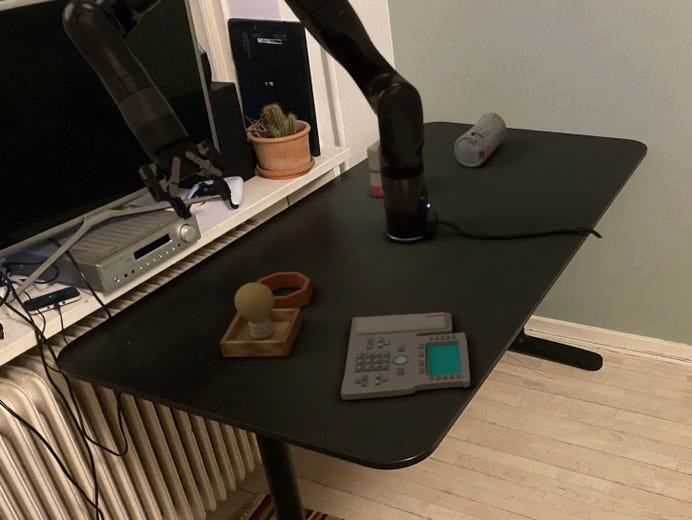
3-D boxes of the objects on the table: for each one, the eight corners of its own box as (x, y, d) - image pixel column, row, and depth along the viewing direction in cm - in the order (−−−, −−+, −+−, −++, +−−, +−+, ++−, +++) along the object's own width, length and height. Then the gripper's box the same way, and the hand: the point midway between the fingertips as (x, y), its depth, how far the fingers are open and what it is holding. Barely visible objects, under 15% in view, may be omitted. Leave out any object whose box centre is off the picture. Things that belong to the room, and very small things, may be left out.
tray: (302, 321, 131) (300, 308, 130) (288, 356, 122) (285, 342, 121) (242, 322, 132) (239, 309, 130) (223, 357, 123) (219, 343, 121)
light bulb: (288, 328, 128) (277, 278, 123) (268, 348, 123) (256, 296, 118) (257, 323, 130) (245, 274, 125) (236, 342, 125) (223, 291, 120)
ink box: (389, 198, 178) (384, 150, 171) (371, 196, 179) (365, 149, 173) (403, 185, 185) (398, 139, 178) (386, 183, 186) (380, 137, 179)
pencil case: (483, 170, 192) (482, 134, 186) (453, 167, 194) (451, 131, 189) (508, 145, 208) (507, 111, 202) (479, 142, 210) (478, 109, 205)
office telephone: (350, 310, 129) (462, 302, 130) (352, 323, 131) (463, 315, 131) (339, 387, 110) (471, 377, 111) (341, 401, 111) (471, 391, 112)
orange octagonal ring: (316, 285, 143) (313, 271, 141) (304, 311, 134) (301, 297, 133) (264, 286, 143) (261, 272, 141) (250, 312, 135) (246, 298, 133)
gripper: (123, 127, 115) (183, 219, 119) (196, 100, 123) (249, 186, 128) (108, 144, 120) (166, 231, 125) (179, 116, 129) (231, 198, 134)
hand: (208, 208), depth 126 cm, fingers open, 8 cm apart
